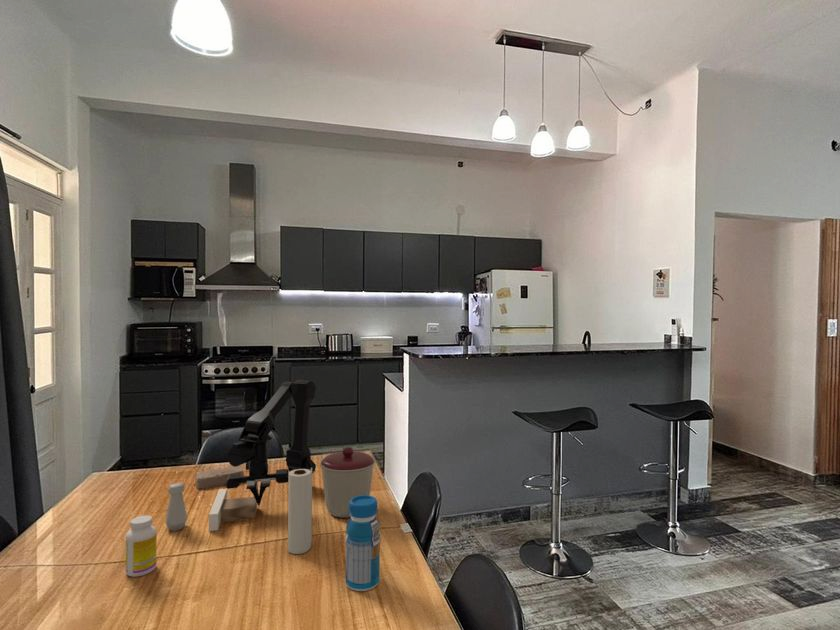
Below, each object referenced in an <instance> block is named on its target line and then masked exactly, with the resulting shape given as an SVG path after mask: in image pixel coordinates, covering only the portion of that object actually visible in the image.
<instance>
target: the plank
mask: <svg viewBox="0 0 840 630" xmlns="http://www.w3.org/2000/svg"><path fill="white" fill-rule="evenodd" d="M224 499H228V489H227V488H220V489H218V491H217V494H216V497H215V498H214V501H213V503H212V506H211V509H210V511H209V514H208V532H215V531H219V529H220V525H221V523H222V522H221V508H222V505H223V502H224Z"/></svg>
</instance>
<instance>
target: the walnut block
mask: <svg viewBox="0 0 840 630" xmlns="http://www.w3.org/2000/svg"><path fill="white" fill-rule="evenodd" d="M257 509H258V504H257V502H256V500H255V497H254V496H247V497H237V498H227V499H224V502H223V505H222V508H221V523H224V522H225V523H226V522H235V521H242V520H243V521H245V520H246V521H247V520H253V519H254V520H255V519H256V514H257Z"/></svg>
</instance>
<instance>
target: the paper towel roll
mask: <svg viewBox="0 0 840 630" xmlns="http://www.w3.org/2000/svg"><path fill="white" fill-rule="evenodd" d="M288 475H289V478H288V500H287V501H288V502H287V504H288V507H287V508H288V509H287V510H288V511H287V512H288V513H287V514H288V515H287V517H288V518H287V519H288V520H287V521H288V523H287V524H288V528H287V550H288V552H289V553H290V554H292V555H301V554H304V553H307V552H308V551H310V549H311V547H312V541H313V539H312V538H313V537H312V536H313V533H312V532H313V531H312V530H313V529H312V528H313V526H312V525H313V519H312V518H313V473H312V468H311V471H310V470H308V469H296V470H292V471H288Z"/></svg>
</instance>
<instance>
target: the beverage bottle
mask: <svg viewBox="0 0 840 630" xmlns="http://www.w3.org/2000/svg"><path fill="white" fill-rule="evenodd" d="M349 513H350V516H351V517H349V519H348V521H347V524H346V527H345V532H346V536H345V540H344V543H345V584H346V586H347V588H348V589H350V590H353V591H355V592H356V591H357V592H367V591H370V590H372V589H375V587H377V585H378V584H379V583H380V561H381V560H380V557H381V553H380V552H381V551H380V550H381V549H380V547H381V539H382V538H381V534H380V530H381V525H380V522H379V520H378V518H377V513H378V499H377V498H376V497H374V496H372V495H370V496H369V495H360V496H356V497H353V498H352V499H351V500H350V503H349Z"/></svg>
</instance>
